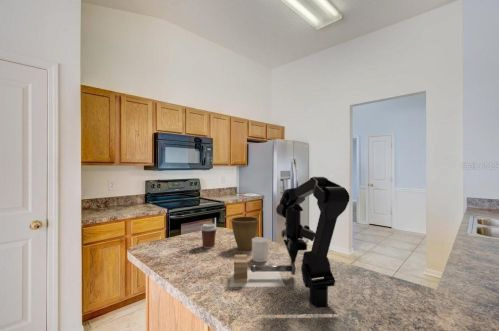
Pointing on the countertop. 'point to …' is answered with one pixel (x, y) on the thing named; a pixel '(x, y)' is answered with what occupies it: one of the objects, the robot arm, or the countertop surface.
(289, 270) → the hook rod
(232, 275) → the mounting board
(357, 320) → the countertop surface
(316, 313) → the countertop surface
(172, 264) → the countertop surface
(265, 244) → the white cup
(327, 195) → the robot arm
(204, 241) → the coffee cup
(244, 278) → the block
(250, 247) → the plant pot
